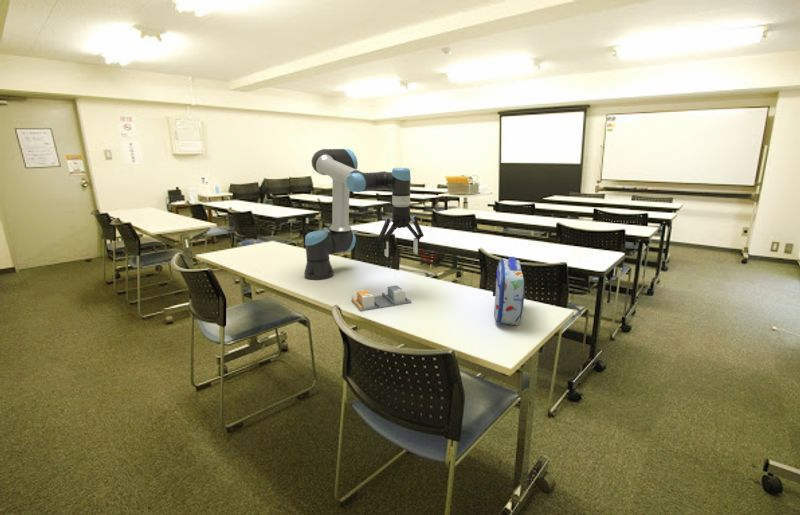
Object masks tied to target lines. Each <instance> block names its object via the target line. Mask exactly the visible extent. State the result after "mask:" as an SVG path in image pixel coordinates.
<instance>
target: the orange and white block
mask: <svg viewBox="0 0 800 515" xmlns="http://www.w3.org/2000/svg"><path fill="white" fill-rule="evenodd" d="M356 297H357V298H356V299H357V302H358V303H359V304H360V305H361V306H362V307H363V308H370V307H375V306H374V297H375V295H374V294H372V293H371V292H370V291H369V290H368V289H364V290H358V291H356Z"/></svg>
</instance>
